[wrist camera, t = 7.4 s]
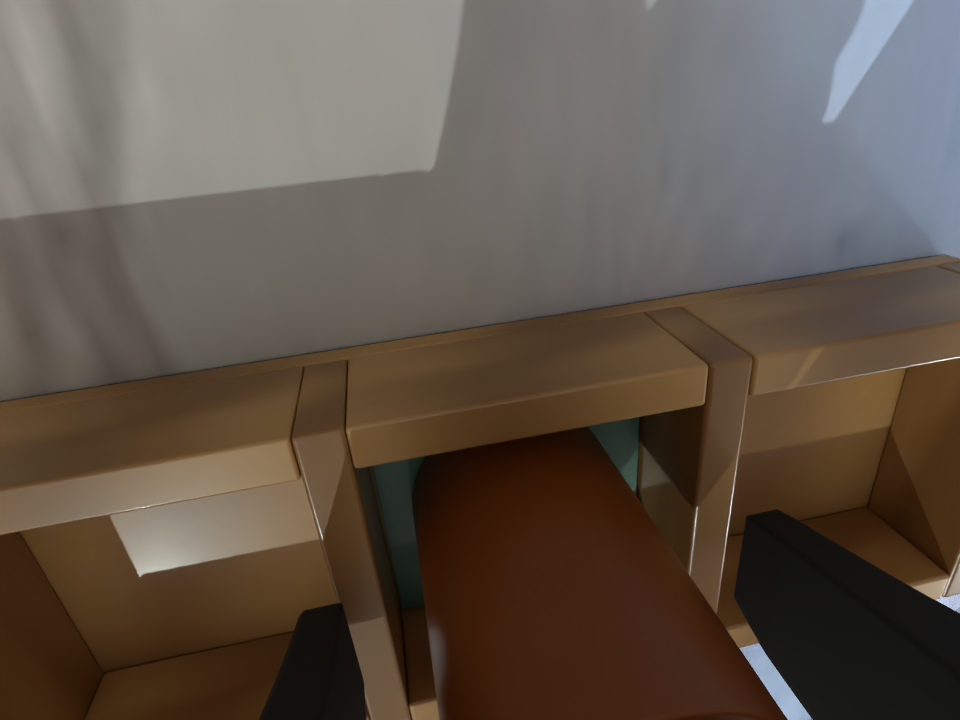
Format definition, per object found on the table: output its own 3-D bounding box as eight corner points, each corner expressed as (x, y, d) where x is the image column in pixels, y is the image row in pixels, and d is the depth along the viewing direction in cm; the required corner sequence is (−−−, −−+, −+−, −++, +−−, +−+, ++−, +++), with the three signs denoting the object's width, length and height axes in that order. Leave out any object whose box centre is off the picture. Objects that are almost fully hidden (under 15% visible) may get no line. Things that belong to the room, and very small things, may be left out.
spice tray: (944, 253, 13) (1097, 296, 10) (871, 509, 16) (971, 592, 14) (-78, 412, 10) (-232, 528, 7) (88, 681, 13) (22, 827, 11)
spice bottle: (607, 387, 12) (977, 834, 5) (605, 544, 14) (864, 1027, 7) (397, 424, 11) (462, 995, 4) (425, 583, 13) (503, 1155, 6)
